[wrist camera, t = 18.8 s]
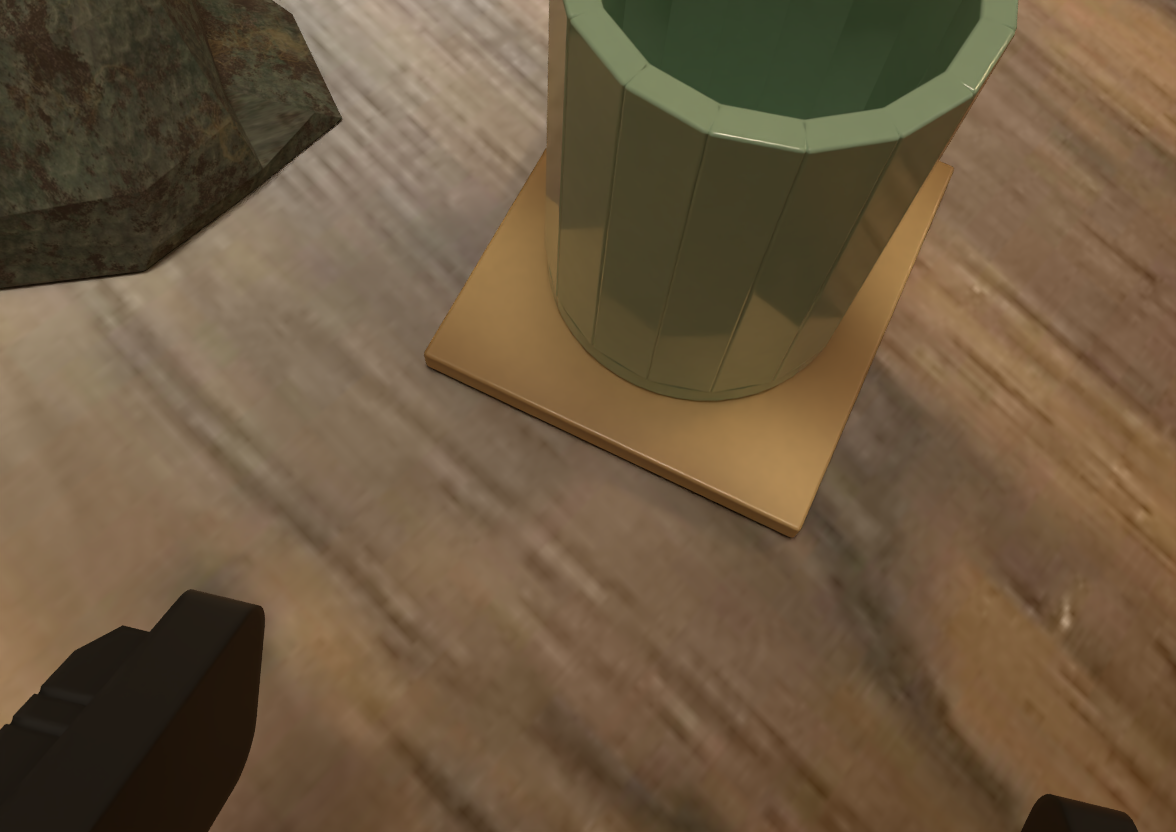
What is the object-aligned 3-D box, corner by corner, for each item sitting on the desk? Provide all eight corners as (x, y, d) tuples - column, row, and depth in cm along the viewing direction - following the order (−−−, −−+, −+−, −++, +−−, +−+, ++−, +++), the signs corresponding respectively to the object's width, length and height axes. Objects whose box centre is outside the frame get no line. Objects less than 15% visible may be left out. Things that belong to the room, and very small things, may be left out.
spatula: (792, 540, 21) (807, 523, 20) (425, 366, 22) (418, 341, 21) (1111, -204, 29) (1134, -246, 28) (826, -311, 30) (837, -356, 28)
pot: (911, 301, 22) (1117, 9, 15) (663, 460, 21) (742, 233, 13) (729, 87, 24) (825, -281, 16) (488, 220, 23) (464, -110, 15)
